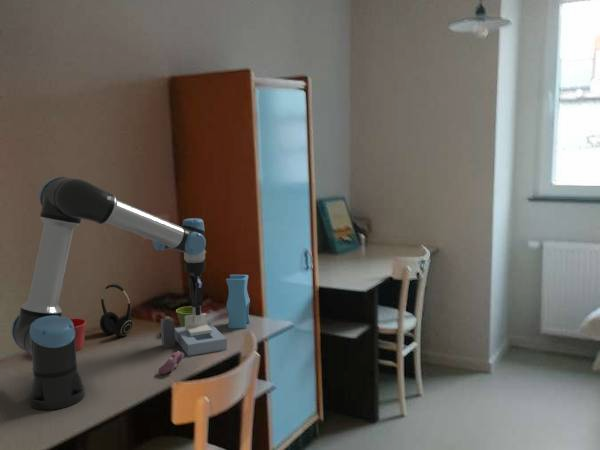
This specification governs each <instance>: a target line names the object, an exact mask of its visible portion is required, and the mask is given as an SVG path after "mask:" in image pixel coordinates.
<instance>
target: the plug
mask: <svg viewBox="0 0 600 450" xmlns="http://www.w3.org/2000/svg"><path fill="white" fill-rule="evenodd" d="M174 328H175V320H174V319H173V317H172V316H171V317H170V316H169V315H167V316H164V318H160V332H161V333H160V335H161V346H162V348H163V349H170V348H176V339H175V329H174Z"/></svg>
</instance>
